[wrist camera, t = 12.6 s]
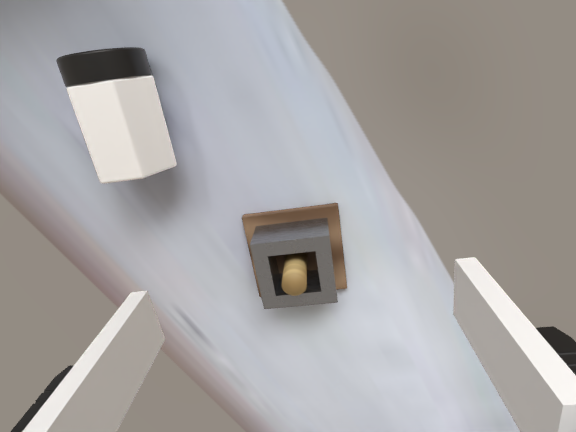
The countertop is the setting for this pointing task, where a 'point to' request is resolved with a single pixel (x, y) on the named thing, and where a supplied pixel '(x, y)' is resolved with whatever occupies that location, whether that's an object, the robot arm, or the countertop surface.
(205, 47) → the countertop surface
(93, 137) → the jar
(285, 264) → the keeper
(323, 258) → the grey hollow block
